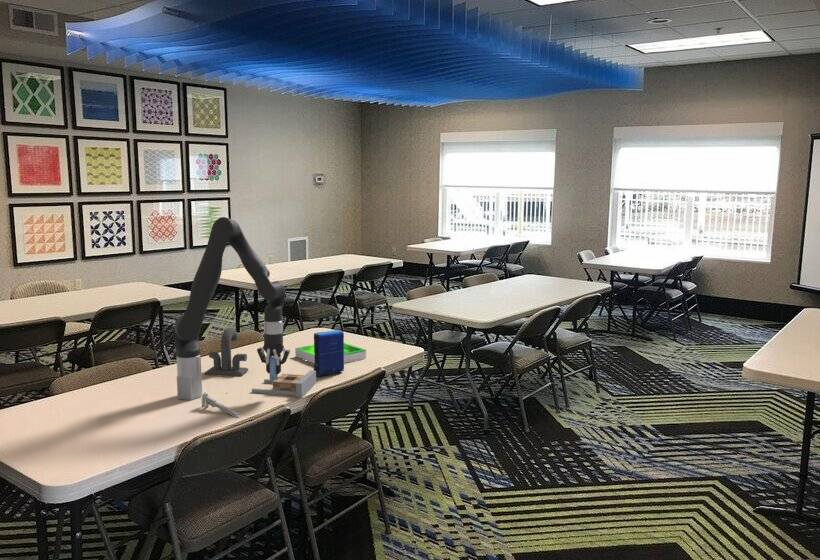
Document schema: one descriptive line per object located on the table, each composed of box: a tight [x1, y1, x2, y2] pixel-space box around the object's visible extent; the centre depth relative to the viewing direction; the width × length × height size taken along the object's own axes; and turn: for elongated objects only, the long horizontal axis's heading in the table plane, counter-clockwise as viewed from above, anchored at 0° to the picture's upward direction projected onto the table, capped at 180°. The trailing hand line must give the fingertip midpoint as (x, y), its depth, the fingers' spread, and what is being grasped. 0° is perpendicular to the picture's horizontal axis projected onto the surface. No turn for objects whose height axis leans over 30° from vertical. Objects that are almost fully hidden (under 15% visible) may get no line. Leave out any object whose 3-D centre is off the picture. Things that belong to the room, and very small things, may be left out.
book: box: [313, 329, 345, 377], centre depth 291 cm, size 14×5×20 cm, turn 126°
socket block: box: [272, 373, 305, 391], centre depth 271 cm, size 11×11×4 cm
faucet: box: [204, 327, 249, 377], centre depth 296 cm, size 18×16×20 cm
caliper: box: [201, 392, 241, 418], centre depth 244 cm, size 20×1×6 cm, turn 58°
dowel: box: [269, 356, 279, 380], centre depth 259 cm, size 3×3×9 cm
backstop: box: [251, 369, 317, 399], centre depth 271 cm, size 18×22×6 cm
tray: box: [294, 342, 367, 364], centre depth 319 cm, size 25×25×5 cm
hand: (273, 373), depth 260 cm, fingers closed on dowel, 3 cm apart
